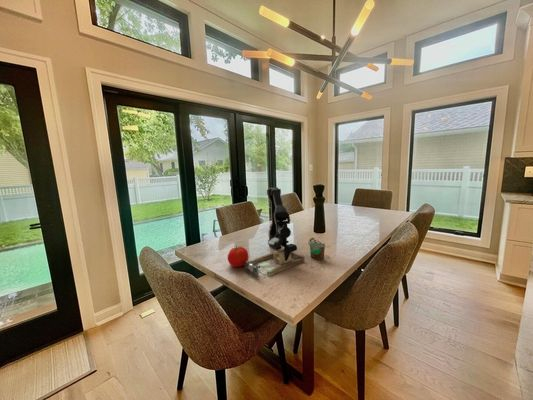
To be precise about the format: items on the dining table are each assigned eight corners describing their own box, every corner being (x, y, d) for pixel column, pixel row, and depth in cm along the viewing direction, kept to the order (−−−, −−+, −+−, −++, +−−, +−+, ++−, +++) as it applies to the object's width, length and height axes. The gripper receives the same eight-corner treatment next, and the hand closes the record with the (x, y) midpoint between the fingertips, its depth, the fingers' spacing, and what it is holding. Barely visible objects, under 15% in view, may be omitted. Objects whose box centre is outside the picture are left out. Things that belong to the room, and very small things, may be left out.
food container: (304, 254, 134) (304, 238, 132) (313, 252, 136) (313, 237, 134) (316, 262, 122) (315, 245, 121) (325, 260, 124) (325, 243, 123)
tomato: (239, 258, 131) (238, 242, 130) (253, 263, 124) (252, 246, 122) (223, 266, 122) (222, 248, 121) (237, 272, 115) (236, 253, 113)
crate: (273, 261, 126) (273, 251, 125) (284, 257, 131) (284, 247, 130) (280, 264, 122) (280, 254, 121) (291, 260, 126) (291, 250, 125)
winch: (243, 270, 117) (243, 259, 116) (253, 266, 121) (252, 256, 120) (257, 279, 107) (256, 267, 106) (267, 275, 111) (266, 263, 110)
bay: (248, 264, 123) (248, 259, 123) (283, 252, 138) (283, 247, 138) (267, 276, 109) (267, 271, 109) (304, 261, 124) (304, 256, 124)
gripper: (260, 231, 126) (261, 257, 129) (281, 239, 112) (282, 268, 114) (275, 227, 133) (276, 252, 135) (297, 235, 118) (297, 262, 121)
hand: (282, 258), depth 126 cm, fingers closed on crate, 6 cm apart
